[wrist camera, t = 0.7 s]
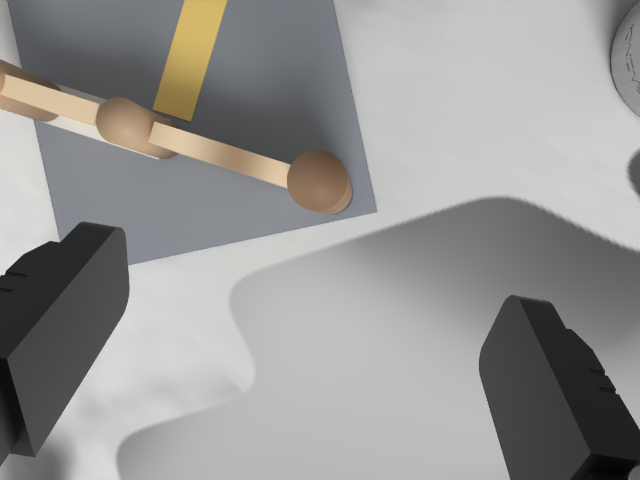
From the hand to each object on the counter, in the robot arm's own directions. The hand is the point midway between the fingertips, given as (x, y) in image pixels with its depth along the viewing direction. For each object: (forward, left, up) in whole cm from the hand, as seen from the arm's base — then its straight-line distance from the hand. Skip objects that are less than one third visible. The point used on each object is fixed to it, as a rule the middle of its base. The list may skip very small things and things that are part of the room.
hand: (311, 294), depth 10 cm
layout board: (+9, -12, -21) cm, 26 cm away
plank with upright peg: (+4, -6, -21) cm, 22 cm away
